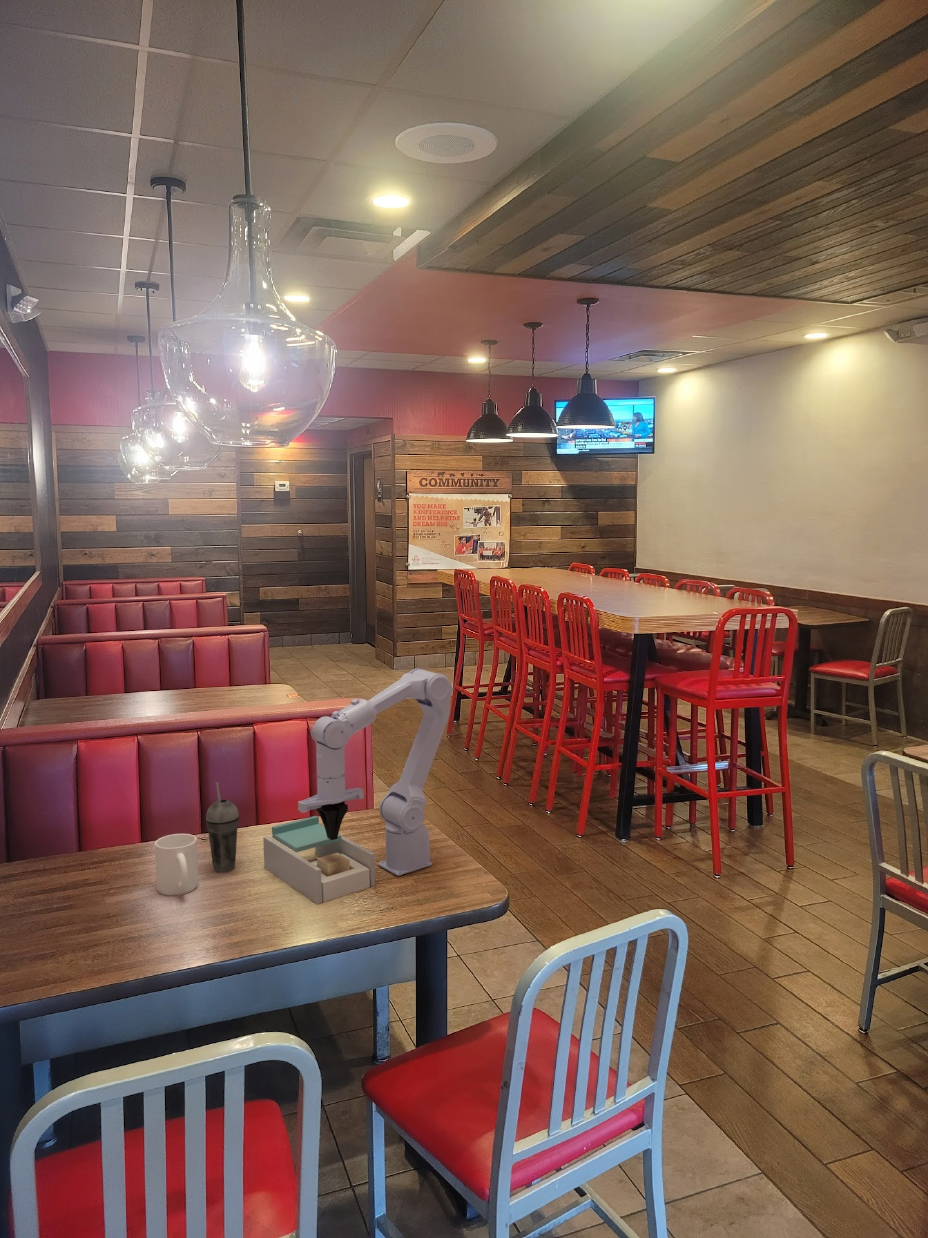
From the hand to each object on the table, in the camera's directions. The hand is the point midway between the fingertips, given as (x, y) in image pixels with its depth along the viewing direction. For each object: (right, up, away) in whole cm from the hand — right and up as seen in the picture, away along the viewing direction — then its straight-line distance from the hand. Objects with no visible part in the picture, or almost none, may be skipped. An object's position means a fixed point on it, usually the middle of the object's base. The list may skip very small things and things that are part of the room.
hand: (332, 838), depth 180 cm
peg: (0, -10, +1) cm, 11 cm away
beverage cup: (-25, -10, +10) cm, 29 cm away
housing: (-4, -10, +6) cm, 12 cm away
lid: (-7, -2, +9) cm, 12 cm away
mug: (-32, -11, -1) cm, 33 cm away
